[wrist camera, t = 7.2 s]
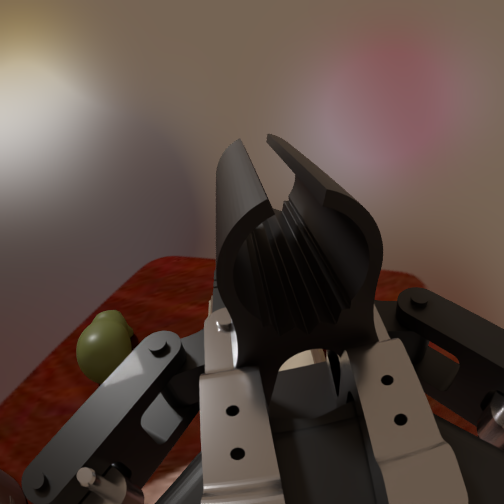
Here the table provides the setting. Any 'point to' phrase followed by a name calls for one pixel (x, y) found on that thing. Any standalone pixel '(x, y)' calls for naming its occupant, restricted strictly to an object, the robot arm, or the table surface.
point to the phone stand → (293, 275)
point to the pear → (104, 345)
